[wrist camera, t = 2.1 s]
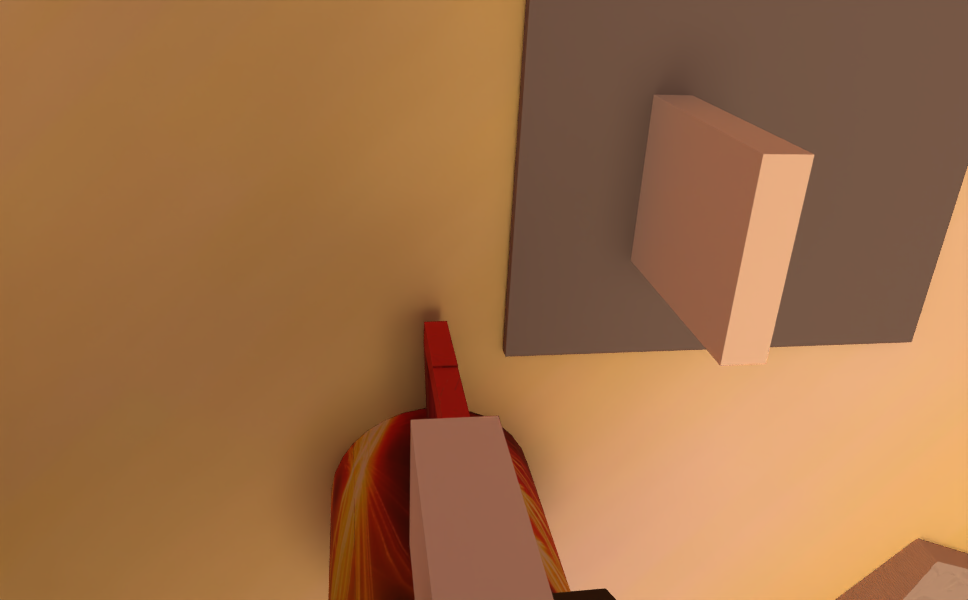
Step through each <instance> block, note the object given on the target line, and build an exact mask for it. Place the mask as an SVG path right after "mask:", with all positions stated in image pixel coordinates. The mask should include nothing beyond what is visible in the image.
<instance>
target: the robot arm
mask: <svg viewBox="0 0 968 600" xmlns="http://www.w3.org/2000/svg"><path fill="white" fill-rule="evenodd" d="M410 554H411V565H412V575H413V586H414V596H415V600H616V599H615V598H614V597H613V596H612V595H611V594H610V593H609V592H608V590H607V589H595V590H583V591H571V592H559V593H552V592H551V589H550V586H549V582H548V579H547V576H546V572H545V569H544V566H543V562H542V559H541V556H540V552H539V549H538V546H537V542H536V539H535V536H534V533H533V529H532V526H531V523H530V519H529V516H528V513H527V509H526V506H525V503H524V499H523V496H522V493H521V489H520V486H519V483H518V479H517V476H516V473H515V469H514V466H513V463H512V459H511V456H510V453H509V450H508V446H507V443H506V440H505V436H504V433H503V430H502V426H501V423H500V420H499V416H483V417H461V418H440V419H418V420H411V440H410Z"/></svg>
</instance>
